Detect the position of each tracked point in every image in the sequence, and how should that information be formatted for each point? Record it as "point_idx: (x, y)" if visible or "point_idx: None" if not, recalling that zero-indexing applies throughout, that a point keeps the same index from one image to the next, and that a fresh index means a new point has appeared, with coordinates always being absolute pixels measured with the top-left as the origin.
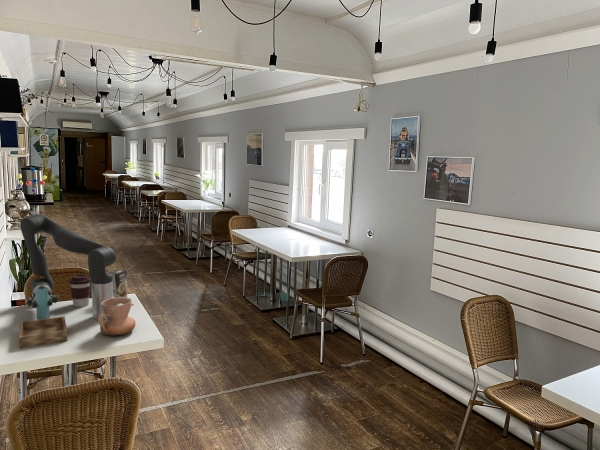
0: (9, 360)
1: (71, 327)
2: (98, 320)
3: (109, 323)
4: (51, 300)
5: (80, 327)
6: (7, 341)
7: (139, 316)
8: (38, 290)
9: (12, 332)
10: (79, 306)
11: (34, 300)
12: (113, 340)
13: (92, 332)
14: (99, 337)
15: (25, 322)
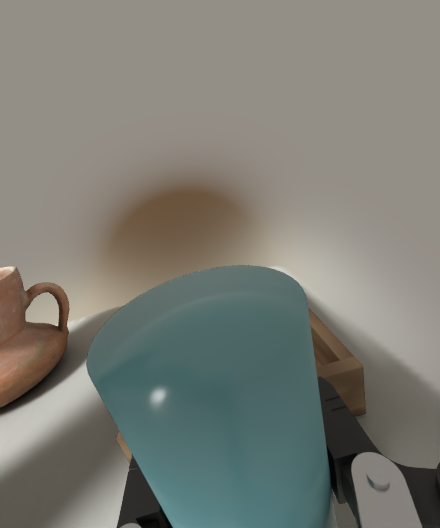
0: (276, 269)
1: (119, 446)
2: (65, 294)
3: (37, 324)
4: (132, 491)
5: (85, 440)
6: (351, 329)
7: None
8: (237, 286)
9: (417, 411)
10: None
11: (364, 473)
12: (68, 336)
13: (77, 383)
14: (83, 350)
15: (328, 366)
